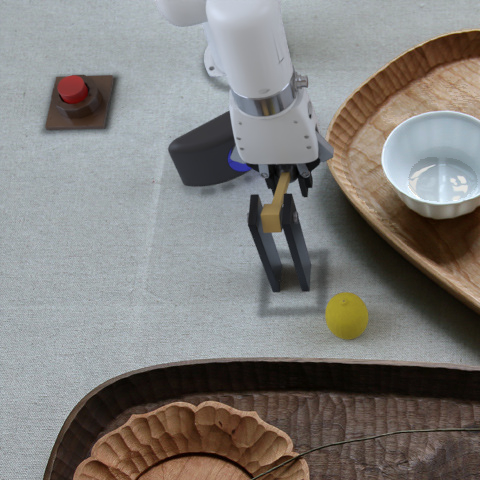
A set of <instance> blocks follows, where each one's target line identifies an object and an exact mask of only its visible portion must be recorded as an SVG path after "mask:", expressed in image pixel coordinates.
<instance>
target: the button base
mask: <svg viewBox="0 0 480 480" xmlns="http://www.w3.org/2000/svg"><path fill="white" fill-rule="evenodd" d="M72 75H73V74H72ZM72 75H70V76H72ZM74 75H75V76H79V77H80V78H82V79H83V81H84V83H85V85H86V87H87V88H88V95H87V97H86V98H85V99H84V100H83V101H81V102H79V103H77V104H69V103H66V102H65V101H64V100H63V98H62V97H61V95H60V93H59V92H58V84H59V82H60V81H61V80H62V79H63V78H65V77H67V76H68V75H67V76H55V80H54V86H53V88H52V92H51V95H50V96H51V97H50V98H51V99H50V104H49V108H48V112H47V116H46V121H45V126H44V128H45V130H46V131H65V130H66V131H68V130H69V131H71V130H103V129H106V123H107V119H108V114H109V108H110V102H111V97H112V91H113V85H114V81H115V77H114V75H113V74H101V75H86V74H74Z"/></svg>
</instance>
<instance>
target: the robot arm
mask: <svg viewBox="0 0 480 480" xmlns="http://www.w3.org/2000/svg"><path fill="white" fill-rule="evenodd" d="M153 1H154V3H155V5H156V7H157V10H158V11H159V13H160V14H161V16H162V18H163V19H164V20H165V21H166V22H168V23H169V24H171V25H172V26H175V27H178V28H187V27H193V26H197V25H201V26H202V30H203V32H204V36H205V39H206V41H207V46H206V47H205V49H204V50H205V51H204V54H203V64H204V67H205V69H206V72H207V75H208V76H209V77H212V78H213V77H226V80H227V83H228V86H229V90H228V106H229V110H230V117H231V123H232V129H233V134H234V139H235V143H234V145H233V147H232V149H231V156H230V159H231V160H233V161H236V162H239V163H242V164H244V163H245V164H246V165H247V166H248V167H250V168H252V169H251V170H254V171H255V172H257V173H259V176H260V177H261V178H262V179H264V181H265V184H266V187H267V190H271V194H272V197H274V194H275V191H276V188H277V185H278V182H279V179H278V178H277V176H276V174H275V168H276V165H277V164H295V163H296V165H297V168H298V178H297V182H298V186H299V190H300V194H301V197H303V198H308V197H309V189H313V186H314V185H313V184H314V179H313V178H314V177H313V174H312V172H313V171H314V170H316V168H318V167H319V166H320V164H321V163H324V162H326V161H327V162H328V161H329V160H331V159H333V158H334V156H335V155H334V154H335V153H334V152H335V149H334V147H333V146H332V144H331V143H330V142H328V141H327V139H325V138H324V137H323V136H322V135H321V128H320V123H319V119H318V117H317V113H316V110H315V107H314V105H313V104H314V103H313V102H312V99H311V97H310V94H309V92H308V90H307V88H308V89H309V77H308V75H302V74H301V73H300V74H299V73H298V72H297V71H296V68H295V64H293V63H292V59H291V54H290V50H289V44H288V40H287V36H286V31H285V26H284V23H283V18H282V17H283V16H282V4H281V0H153Z"/></svg>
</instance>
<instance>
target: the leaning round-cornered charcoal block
mask: <svg viewBox="0 0 480 480" xmlns="http://www.w3.org/2000/svg"><path fill="white" fill-rule="evenodd" d="M234 143H235V139H234V134H233V129H232V123H231V117H230V109H228V110H226V111H225V112H223V113H222V114H220V115H217V116H216V117H213V118H211V119H210V120H208V121H206V122H204V123H203V124H201V125H199V126H197V127H195V128H193V129H191V130H189V131H188V132H186V133H183V134H182V135H180V136H177V137H176V138H175V139H173V140H172V141H171V142H170V143H169V144H168V146H167V147H168V148H167V151H168V155H169V156H170V158H171V160H172V161H171V162H172V163H173V165H174V167H175V170H176V171H177V173H178V176H179V178H180V180H181V182H182V184H183V185H184V186H186V187H192V188H193V187H195V188H196V187H198V188H199V187H210V186H215V185H220V184H223V183H226V182H229V181H233V180H234V179H237V178H239V177H241V176H243V175H245V174H247V173H249V172H250V171H251V170H253V169H252V168H250V167H248V166H247V165H246V164H245V163H244V164H242V163H239V162H236V161H233V160H231V159H230V156H231V149H232V147H233V145H234Z"/></svg>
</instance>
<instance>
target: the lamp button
mask: <svg viewBox="0 0 480 480" xmlns="http://www.w3.org/2000/svg"><path fill="white" fill-rule="evenodd" d="M75 75H76V74H72V76H71V75H67V77H65V78H63V79H62V80H61V81H60V82H59V84H58V92H59V93H60V95H61V97H62V98H63V100H64V101H65V102H66V103H69V104H77V103H79V102H81V101H83V100H84V99H85V98H86V97H87V95H88V88H87V87H86V85H85V83H84V81H83V79H82V78H80V77H79V76H75Z"/></svg>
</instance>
